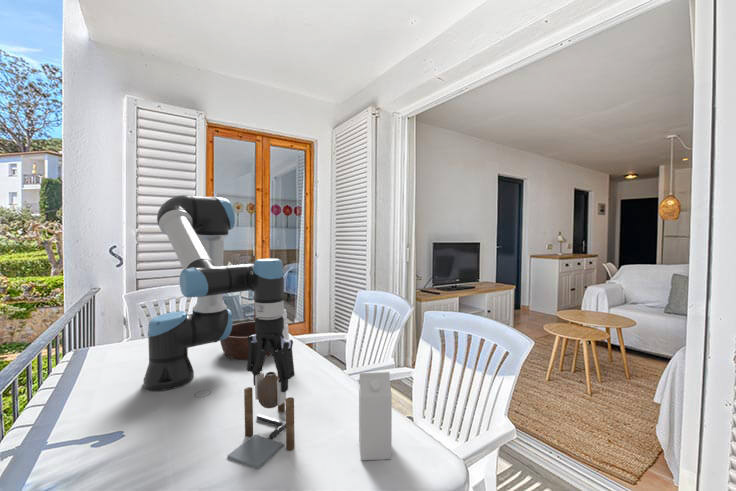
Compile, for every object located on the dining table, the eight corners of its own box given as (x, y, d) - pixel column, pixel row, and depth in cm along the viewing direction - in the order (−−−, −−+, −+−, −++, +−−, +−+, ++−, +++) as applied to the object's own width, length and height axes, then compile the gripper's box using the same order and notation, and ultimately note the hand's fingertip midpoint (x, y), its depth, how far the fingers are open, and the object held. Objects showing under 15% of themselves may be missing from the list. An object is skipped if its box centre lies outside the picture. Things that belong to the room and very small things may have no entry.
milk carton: (358, 442, 85) (358, 367, 84) (387, 440, 85) (387, 366, 85) (360, 461, 78) (360, 379, 77) (391, 459, 78) (391, 378, 77)
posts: (243, 435, 87) (242, 389, 87) (280, 407, 101) (280, 368, 100) (291, 451, 81) (290, 402, 81) (324, 419, 95) (324, 377, 94)
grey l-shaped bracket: (241, 430, 90) (241, 426, 90) (258, 418, 95) (258, 414, 95) (271, 440, 86) (271, 435, 85) (287, 426, 91) (287, 422, 91)
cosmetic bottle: (274, 364, 134) (273, 308, 133) (289, 362, 136) (289, 307, 135) (277, 370, 128) (276, 312, 127) (293, 367, 131) (292, 310, 130)
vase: (276, 412, 89) (276, 379, 88) (252, 409, 90) (252, 377, 90) (288, 399, 95) (287, 369, 95) (265, 397, 97) (265, 367, 96)
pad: (227, 458, 79) (227, 455, 79) (255, 436, 87) (255, 434, 87) (257, 469, 75) (257, 466, 75) (283, 445, 83) (283, 443, 83)
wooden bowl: (257, 338, 165) (257, 317, 165) (292, 349, 151) (292, 326, 150) (207, 354, 145) (207, 330, 145) (242, 368, 130) (242, 341, 130)
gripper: (231, 315, 92) (232, 398, 93) (290, 323, 84) (292, 414, 85) (251, 309, 99) (252, 387, 100) (308, 316, 91) (309, 401, 92)
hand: (270, 399), depth 93 cm, fingers closed on vase, 7 cm apart
